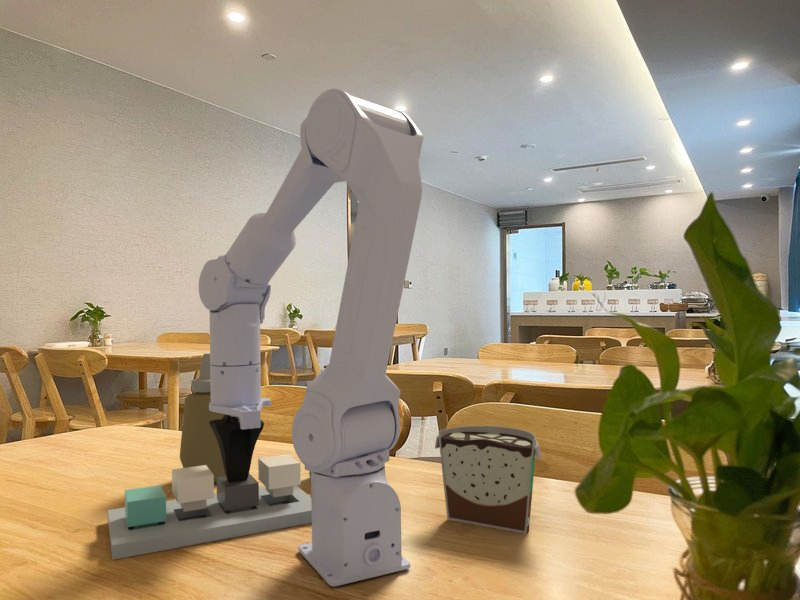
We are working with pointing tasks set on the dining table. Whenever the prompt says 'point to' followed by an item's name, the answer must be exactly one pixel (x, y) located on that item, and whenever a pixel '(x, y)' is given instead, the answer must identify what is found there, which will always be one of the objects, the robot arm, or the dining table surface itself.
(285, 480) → the near ivory key
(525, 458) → the food container
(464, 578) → the dining table surface
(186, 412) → the squeeze bottle
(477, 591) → the dining table surface
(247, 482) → the dark gray key
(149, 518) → the teal key
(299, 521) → the selector panel
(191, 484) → the middle ivory key
